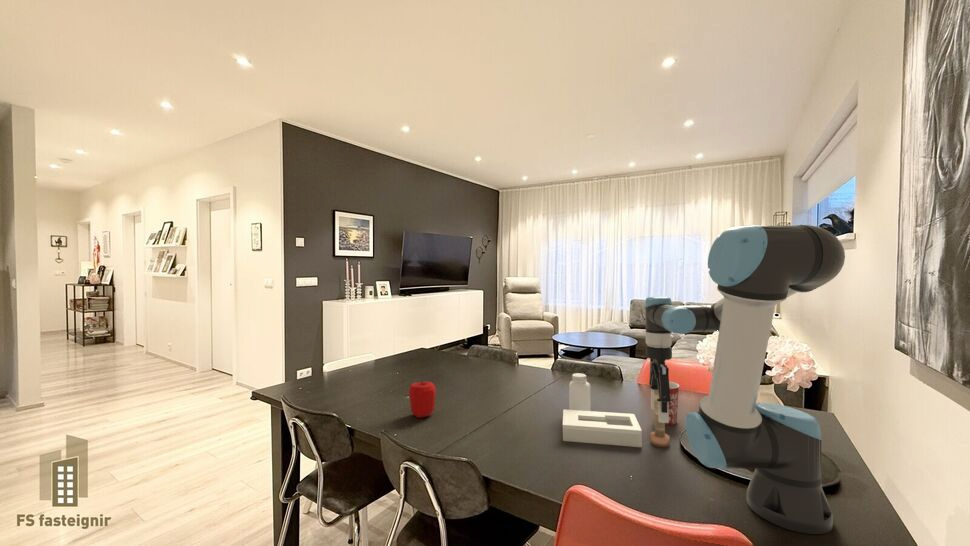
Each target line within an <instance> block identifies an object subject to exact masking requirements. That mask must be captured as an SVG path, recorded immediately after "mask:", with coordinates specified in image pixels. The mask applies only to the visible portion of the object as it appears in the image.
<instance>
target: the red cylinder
mask: <svg viewBox="0 0 970 546" xmlns="http://www.w3.org/2000/svg"><path fill="white" fill-rule="evenodd" d="M436 387H437V386H435V385H434V383H433V382H432V381H426V380H425V381H418V382H413V383H411V385H410V386H409V388H408V397H409V403H410V412H411V413H412V414H413V415H414V417H416V418H418V419H419V418H422V419H424V418H425V417H429V416H430V415H431V414H432V413H433V412H434V410H435V404H436V396H437V389H436Z"/></svg>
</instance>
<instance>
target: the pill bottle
mask: <svg viewBox="0 0 970 546" xmlns="http://www.w3.org/2000/svg"><path fill="white" fill-rule="evenodd" d="M568 393H569V394H568V400H569V401H568V404H569V405H568V406H569V409H568V410H580V411H592V410H591V384H590V382H588V381H587V375H586V374H585V373H579V372H576V373H573V374H572V375H571V381H570V382H569V384H568Z"/></svg>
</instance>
